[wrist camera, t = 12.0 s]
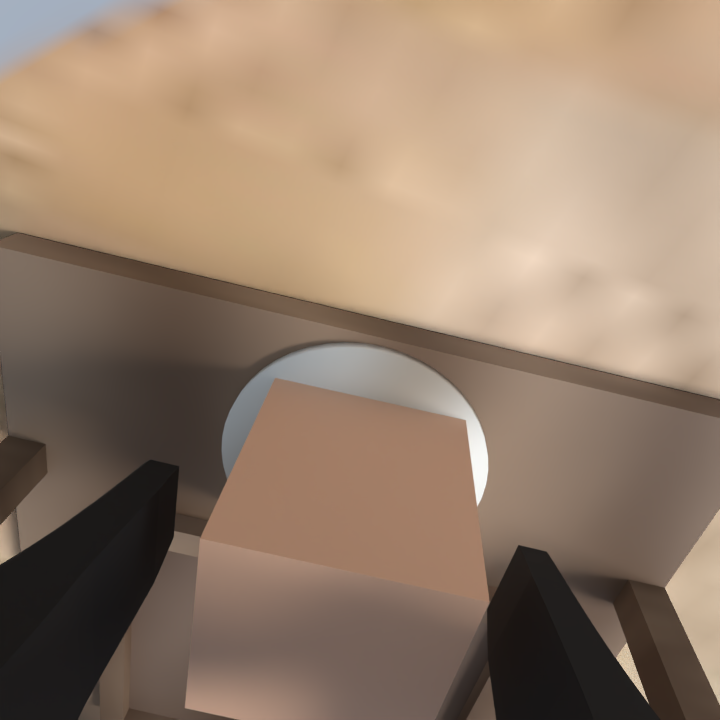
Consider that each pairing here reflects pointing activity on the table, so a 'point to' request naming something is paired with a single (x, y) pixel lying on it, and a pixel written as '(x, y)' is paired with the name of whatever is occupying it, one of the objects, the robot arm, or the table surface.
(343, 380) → the puzzle board
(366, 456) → the block
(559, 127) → the table surface
